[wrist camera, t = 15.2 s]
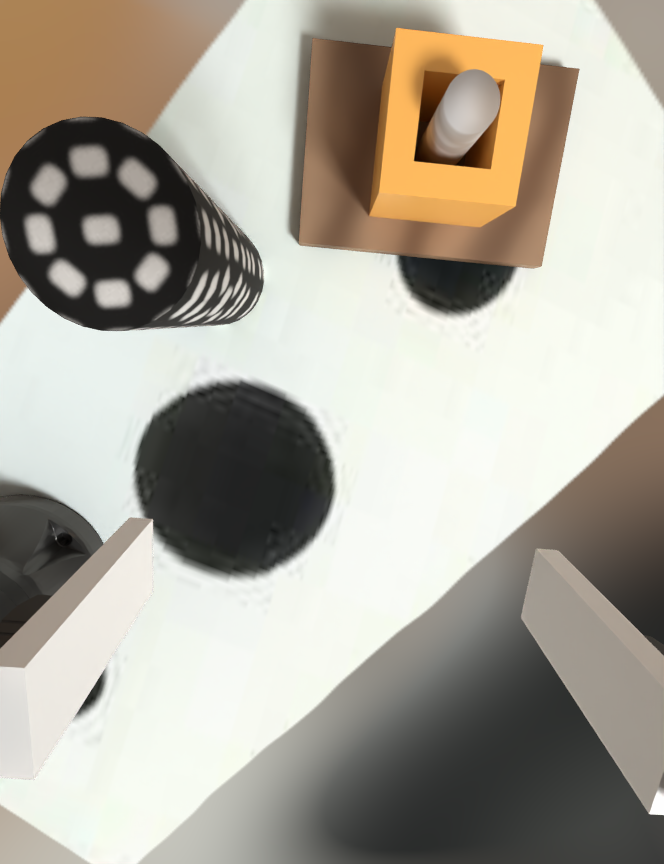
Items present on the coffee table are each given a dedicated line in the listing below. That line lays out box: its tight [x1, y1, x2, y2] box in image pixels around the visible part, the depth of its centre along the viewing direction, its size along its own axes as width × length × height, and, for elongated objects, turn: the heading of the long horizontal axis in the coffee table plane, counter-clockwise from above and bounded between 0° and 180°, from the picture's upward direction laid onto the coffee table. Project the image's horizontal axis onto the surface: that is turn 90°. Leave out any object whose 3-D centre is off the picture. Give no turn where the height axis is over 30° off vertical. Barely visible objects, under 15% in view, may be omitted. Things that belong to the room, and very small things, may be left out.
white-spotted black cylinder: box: [0, 117, 264, 331], centre depth 29 cm, size 8×8×20 cm
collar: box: [369, 28, 543, 228], centre depth 32 cm, size 9×9×7 cm
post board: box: [299, 38, 579, 268], centre depth 31 cm, size 20×14×11 cm
